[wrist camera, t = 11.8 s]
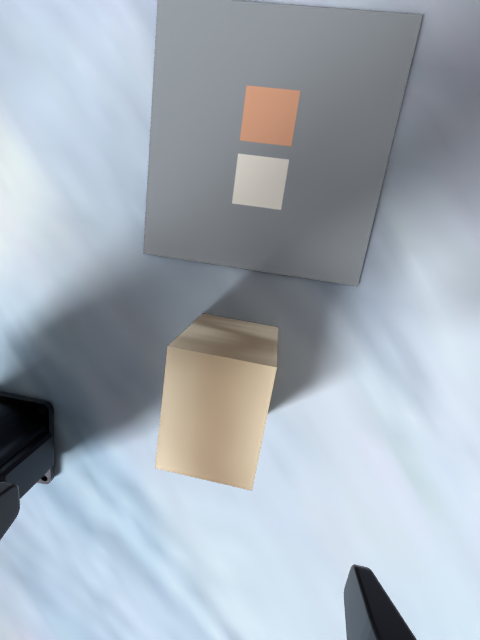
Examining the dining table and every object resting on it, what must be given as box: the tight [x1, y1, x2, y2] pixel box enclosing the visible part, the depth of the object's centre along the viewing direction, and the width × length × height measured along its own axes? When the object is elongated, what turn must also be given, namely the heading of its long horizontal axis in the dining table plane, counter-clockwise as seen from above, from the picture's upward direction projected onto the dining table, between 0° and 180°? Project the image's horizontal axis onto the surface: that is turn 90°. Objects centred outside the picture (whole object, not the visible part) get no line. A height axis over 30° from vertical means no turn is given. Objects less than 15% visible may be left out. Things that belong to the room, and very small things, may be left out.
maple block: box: [155, 313, 278, 491], centre depth 16 cm, size 4×6×6 cm
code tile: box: [143, 0, 423, 286], centre depth 16 cm, size 12×12×1 cm
